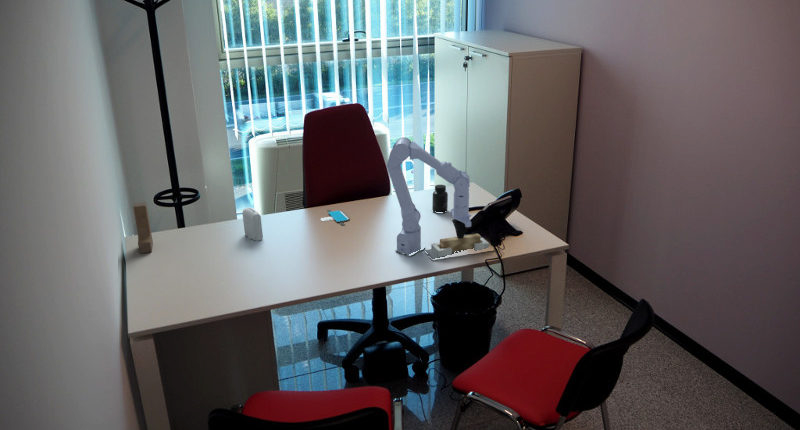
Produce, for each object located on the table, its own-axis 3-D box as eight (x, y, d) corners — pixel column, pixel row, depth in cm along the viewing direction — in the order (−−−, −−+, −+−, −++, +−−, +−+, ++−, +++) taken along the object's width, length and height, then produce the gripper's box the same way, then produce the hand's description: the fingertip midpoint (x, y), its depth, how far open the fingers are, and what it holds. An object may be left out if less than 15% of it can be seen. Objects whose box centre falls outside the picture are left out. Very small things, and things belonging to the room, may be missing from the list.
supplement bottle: (447, 214, 284) (448, 188, 280) (432, 214, 285) (432, 188, 280) (447, 208, 291) (447, 183, 286) (432, 208, 291) (432, 183, 287)
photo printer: (243, 234, 266) (240, 206, 261) (252, 231, 268) (249, 204, 264) (255, 242, 258) (252, 213, 254) (264, 239, 261) (261, 211, 256)
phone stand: (314, 213, 288) (314, 210, 287) (339, 209, 293) (339, 206, 292) (328, 229, 271) (328, 225, 270) (355, 224, 276) (354, 221, 275)
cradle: (432, 261, 241) (432, 252, 239) (424, 252, 248) (424, 244, 246) (494, 250, 248) (495, 242, 247) (485, 242, 255) (485, 234, 254)
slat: (442, 253, 244) (442, 241, 242) (439, 251, 246) (439, 239, 244) (480, 247, 249) (480, 235, 247) (477, 245, 251) (477, 233, 249)
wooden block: (151, 252, 250) (144, 209, 243) (139, 254, 249) (131, 211, 242) (153, 243, 258) (146, 201, 251) (141, 244, 257) (134, 203, 250)
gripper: (479, 209, 236) (477, 243, 241) (462, 197, 248) (462, 229, 253) (461, 212, 233) (460, 246, 238) (446, 199, 246) (445, 231, 251)
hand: (460, 237), depth 246 cm, fingers closed, pressing on slat
